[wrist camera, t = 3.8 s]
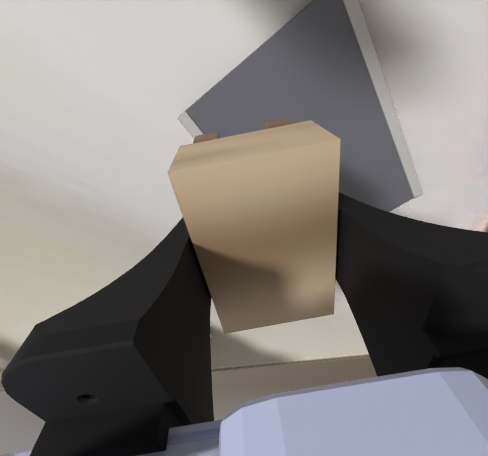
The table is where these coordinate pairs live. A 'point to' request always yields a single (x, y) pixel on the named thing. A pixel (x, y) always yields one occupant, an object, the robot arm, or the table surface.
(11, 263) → the table surface
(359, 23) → the mat
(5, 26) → the table surface
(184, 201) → the stool
